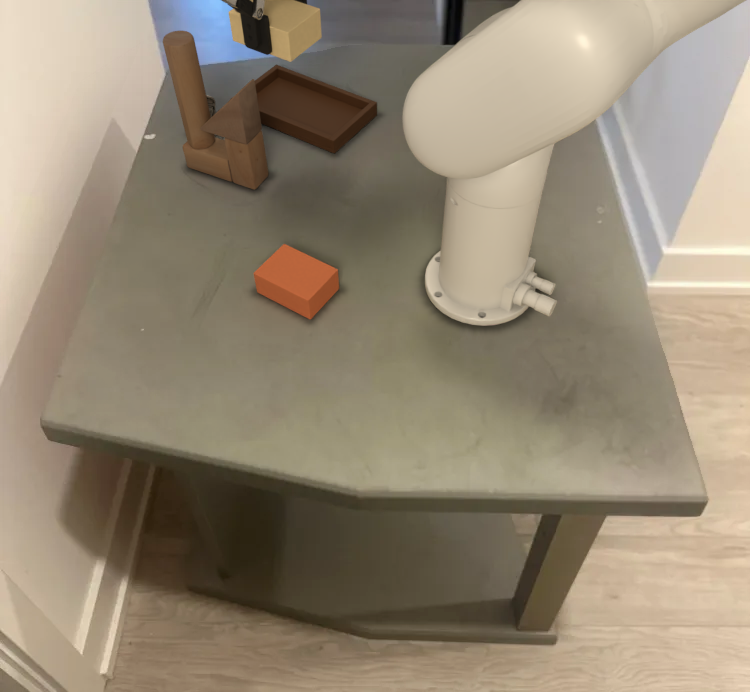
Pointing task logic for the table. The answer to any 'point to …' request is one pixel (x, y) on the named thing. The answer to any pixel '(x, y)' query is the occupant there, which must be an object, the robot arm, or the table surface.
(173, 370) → the table surface
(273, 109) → the frame
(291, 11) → the sand pad
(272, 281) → the terracotta pad
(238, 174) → the brown l-shaped piece
